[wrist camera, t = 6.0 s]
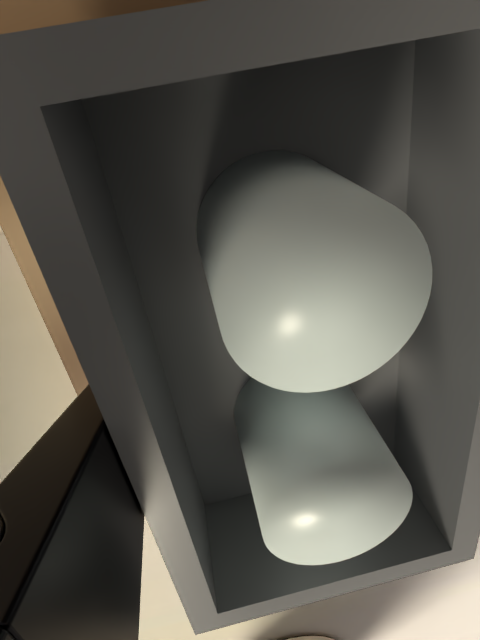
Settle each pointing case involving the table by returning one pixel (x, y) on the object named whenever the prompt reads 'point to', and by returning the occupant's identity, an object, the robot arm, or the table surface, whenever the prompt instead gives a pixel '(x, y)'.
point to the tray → (157, 308)
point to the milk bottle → (310, 638)
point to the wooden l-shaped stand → (3, 17)
